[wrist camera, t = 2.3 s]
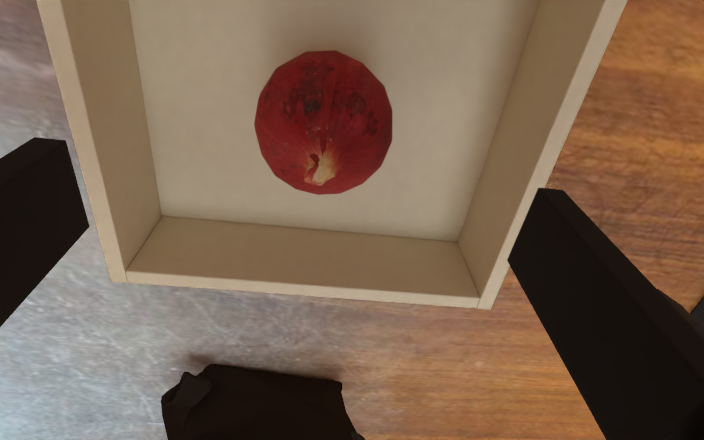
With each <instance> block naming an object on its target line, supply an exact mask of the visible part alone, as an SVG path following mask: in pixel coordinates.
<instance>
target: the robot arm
mask: <svg viewBox="0 0 704 440" xmlns="http://www.w3.org/2000/svg"><path fill="white" fill-rule="evenodd" d="M88 228H89V223H88V220H87V216H86V213H85V209H84V205H83V202H82V198H81V195H80V191H79V187H78V184H77V180H76V176H75V173H74V169H73V166H72V162H71V158H70V155H69V151H68V147H67V144H66V141H65V140H55V139H45V138H35V137H34V138H33V139H31V140H30V141H28V142H26V143H25V144H23V145H21V146H20V147H18V148H17V149H15V150H13V151H12V152H10V153H9V154H7V155H5V156H4V157H2V158H1V159H0V327H1V325H2V324H3V323H4V322H5V321H6V320H7V319H8V318H9V316H10V315H11V314H12V313H13V312H14V311H15V310H16V309H17V307H18V306H19V305H20V304H21V303H22V302H23V301H24V300H25V298H26V297H27V296H28V295H29V294H30V293H31V292H32V291H33V289H34V288H35V287H36V286H37V285H38V284H39V283H40V282H41V280H42V279H43V278H44V277H45V276H46V275H47V274H48V273H49V271H50V270H51V269H52V268H53V267H54V266H55V265H56V264H57V262H58V261H59V260H60V259H61V258H62V257H63V256H64V255H65V253H66V252H67V251H68V250H69V249H70V248H71V247H72V246H73V244H74V243H75V242H76V241H77V240H78V239H79V238H80V237H81V235H82V234H83V233H84V232H85V231H86V230H87V229H88ZM507 261H508V263H509V265H510V267H511V268H512V270H513V272H514V274H515V276H516V277H517V279H518V281H519V283H520V285H521V286H522V288H523V290H524V292H525V294H526V295H527V297H528V299H529V301H530V303H531V304H532V306H533V308H534V310H535V312H536V314H537V315H538V317H539V319H540V321H541V323H542V324H543V326H544V328H545V330H546V332H547V333H548V335H549V337H550V339H551V341H552V342H553V344H554V346H555V348H556V350H557V351H558V353H559V355H560V357H561V359H562V360H563V362H564V364H565V366H566V368H567V369H568V371H569V373H570V375H571V377H572V378H573V380H574V382H575V384H576V386H577V388H578V389H579V391H580V393H581V395H582V397H583V398H584V400H585V402H586V404H587V406H588V407H589V409H590V411H591V413H592V415H593V416H594V418H595V420H596V422H597V424H598V425H599V427H600V429H601V431H602V433H603V434H604V436H605V438H606V440H704V328H703V327H699V323H698V322H697V321H696V320H695V319H694V318H693V317H692V316H691V315H690V314H689V313H688V312H687V311H686V310H685V309H684V308H683V307H682V306H681V305H680V304H679V303H677V302H676V301H674V300H673V299H671V298H670V297H669V296H667V295H666V294H664V293H663V292H662V291H660V290H659V289H656V288H655V287H654V286H653V285H652V284H651V283H650V282H649V281H648V280H647V279H646V277H645V276H644V275H643V274H642V273H641V272H640V271H639V270H638V269H637V268H636V267H635V266H634V265H633V264H632V263H631V262H630V261H629V260H628V258H627V257H626V256H625V255H624V254H623V253H622V252H621V251H620V250H619V249H618V248H617V247H616V246H615V245H614V244H613V243H612V242H611V241H610V239H609V238H608V237H607V236H606V235H605V234H604V233H603V232H602V231H601V230H600V229H599V228H598V227H597V226H596V225H595V224H594V223H593V222H592V220H591V219H590V218H589V217H588V216H587V215H586V214H585V213H584V212H583V211H582V210H581V209H580V208H579V207H578V206H577V205H576V204H575V203H574V202H573V200H572V199H571V198H570V197H569V196H568V195H567V194H566V193H565V192H564V191H563V190H556V189H546V188H538V190H537V192H536V194H535V196H534V199H533V201H532V203H531V206H530V208H529V210H528V213H527V215H526V217H525V220H524V222H523V224H522V227H521V229H520V231H519V233H518V236H517V238H516V240H515V243H514V245H513V247H512V250H511V252H510V254H509V257H508V259H507Z"/></svg>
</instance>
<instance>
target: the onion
mask: <svg viewBox="0 0 704 440" xmlns="http://www.w3.org/2000/svg"><path fill="white" fill-rule="evenodd" d="M254 126H255V131H256V135H257V139H258V143H259V147H260V151H261V154H262V156H263V158H264V159H265V161H266V162H267V164H268V165H269V167H270V169H271V170H272V172H273V173H274V175H275V176H276V177H278V178H279V179H281V180H282V181H284V182H285V183H287V184H288V185H290V186H292V187H293V188H295V189H297V190H301V191H305V192H309V193H312V194H316V195H324V194H340V193H343V192H345V191H347V190H350V189H352V188H354V187H357V186H359V185H361V184H363V183H364V182H365V181H366V180H367V179H368V178H369V177H371V176H372V175H373V174H374V173H375V172H376V171H377V170H378V169H379V168H380V167H381V165H382V163H383V161H384V159H385V156H386V154H387V152H388V149H389V147H390V145H391V142H392V107H391V104H390V101H389V99H388V96H387V93H386V90H385V87H384V85H383V84H382V83H381V82H380V81H379V80H378V79H377V78H376V77H375V76H374V74H373V73H372V72H371V71H370V70H369V69H368V68H367V67H366V66H365V65H364V64H363V63H362V62H360V61H358V60H355V59H353V58H351V57H349V56H347V55H345V54H343V53H341V52H338V51H336V50H331V51H307V52H304V53H302V54H301V55H299V56H297V57H295V58H293V59H292V60H290V61H288V62H286V63H284V64H283V65H281V66H279V67H277V68H276V69H275V71H274V72H273V74H272V75H271V77H270V79H269V80H268V82H267V83H266V85H265V86H264V88H263V90H262V91H261V93H260V96H259V98H258V104H257V110H256V116H255V122H254Z"/></svg>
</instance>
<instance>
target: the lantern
mask: <svg viewBox="0 0 704 440" xmlns="http://www.w3.org/2000/svg"><path fill="white" fill-rule="evenodd" d="M341 391H342V383H341V382H338V381H335V380H328V379H315V378H305V377H297V376H289V375H282V374H274V373H270V372H260V371H250V370H244V369H237V368H231V367H225V366H218V365H208V366H207V367H205V369H204V370H203V372H201V373H199V374H198V375H197V376H194V375H192V374H191V373H189V372H184V373H183V375H182V377H181V380H180V383H178V384H177V385H176V386H175V387H173V388H172V389H170V390H169V391H167V392H166V393H165V394H164V395H163V396H162V400H161V405H162V415H163V420H164V424H165V428H166V433H167V437H168V440H365V439H364V437H363V436H361V435H360V434H358V433H357V432H356V430H355V428H354V426H353V425H352V423H351V421H350V419H349V417H348V415H347V413H346V410H345V406H344V402H343V398H342V394H341Z"/></svg>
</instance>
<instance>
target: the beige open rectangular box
mask: <svg viewBox="0 0 704 440" xmlns="http://www.w3.org/2000/svg"><path fill="white" fill-rule="evenodd" d="M36 2H37V6H38V9H39V13H40V17H41V21H42V24H43V28H44V32H45V36H46V39H47V43H48V47H49V51H50V55H51V58H52V62H53V66H54V70H55V73H56V77H57V81H58V85H59V88H60V92H61V96H62V100H63V103H64V107H65V111H66V115H67V118H68V122H69V126H70V130H71V133H72V137H73V141H74V145H75V148H76V152H77V156H78V160H79V163H80V167H81V171H82V175H83V178H84V182H85V186H86V190H87V193H88V197H89V201H90V205H91V209H92V212H93V216H94V220H95V224H96V227H97V231H98V235H99V239H100V242H101V246H102V250H103V254H104V257H105V261H106V265H107V269H108V272H109V276H110V280H111V282H121V283H127V282H129V283H139V284H153V285H166V286H180V287H193V288H207V289H221V290H234V291H248V292H261V293H275V294H289V295H302V296H316V297H330V298H343V299H357V300H370V301H384V302H398V303H411V304H425V305H438V306H452V307H466V308H477V309H489V310H490V309H491V307H492V305H493V303H494V300H495V298H496V296H497V294H498V291H499V289H500V287H501V284H502V282H503V280H504V278H505V275H506V273H507V271H508V269H509V266H510V265H509V263H508V261H507V259H508V257H509V254H510V252H511V250H512V247H513V245H514V243H515V240H516V238H517V236H518V233H519V231H520V229H521V227H522V224H523V222H524V220H525V217H526V215H527V213H528V210H529V208H530V206H531V203H532V201H533V199H534V196H535V194H536V192H537V190H538V188H545V185H546V183H547V181H548V179H549V176H550V174H551V172H552V170H553V167H554V165H555V163H556V160H557V158H558V156H559V154H560V151H561V149H562V147H563V145H564V142H565V140H566V138H567V136H568V133H569V131H570V129H571V127H572V124H573V122H574V120H575V118H576V115H577V113H578V111H579V109H580V106H581V104H582V102H583V100H584V97H585V95H586V93H587V91H588V88H589V86H590V84H591V82H592V79H593V77H594V75H595V73H596V70H597V68H598V66H599V64H600V61H601V59H602V57H603V55H604V52H605V50H606V48H607V46H608V43H609V41H610V39H611V36H612V34H613V32H614V30H615V27H616V25H617V23H618V21H619V18H620V16H621V14H622V12H623V9H624V7H625V5H626V3H627V0H36ZM331 50H336V51H338V52H341V53H343V54H345V55H347V56H349V57H351V58H353V59H355V60H358V61H360V62H362V63H363V64H364V65H365V66H366V67H367V68H368V69H369V70H370V71H371V72H372V73H373V74H374V76H375V77H376V78H377V79H378V80H379V81H380V82H381V83H382V84H383V85H384V87H385V90H386V93H387V96H388V99H389V101H390V104H391V107H392V142H391V145H390V147H389V149H388V152H387V154H386V156H385V159H384V161H383V163H382V165H381V167H380V168H379V169H378V170H377V171H376V172H375V173H374V174H373V175H372V176H371V177H369V178H368V179H367V180H366V181H365V182H364V183H363V184H361V185H359V186H357V187H354V188H352V189H350V190H347V191H345V192H343V193H340V194H324V195H316V194H312V193H309V192H305V191H301V190H297V189H295V188H293V187H292V186H290V185H288V184H287V183H285V182H284V181H282V180H281V179H279V178H278V177H276V176H275V175H274V173H273V172H272V170H271V169H270V167H269V165H268V164H267V162H266V161H265V159H264V158H263V156H262V154H261V151H260V147H259V143H258V139H257V135H256V131H255V126H254V122H255V116H256V110H257V104H258V98H259V96H260V93H261V91H262V90H263V88H264V86H265V85H266V83H267V82H268V80H269V79H270V77H271V75H272V74H273V72H274V71H275V69H276V68H277V67H279V66H281V65H283V64H284V63H286V62H288V61H290V60H292V59H293V58H295V57H297V56H299V55H301V54H302V53H304V52H307V51H331Z"/></svg>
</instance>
